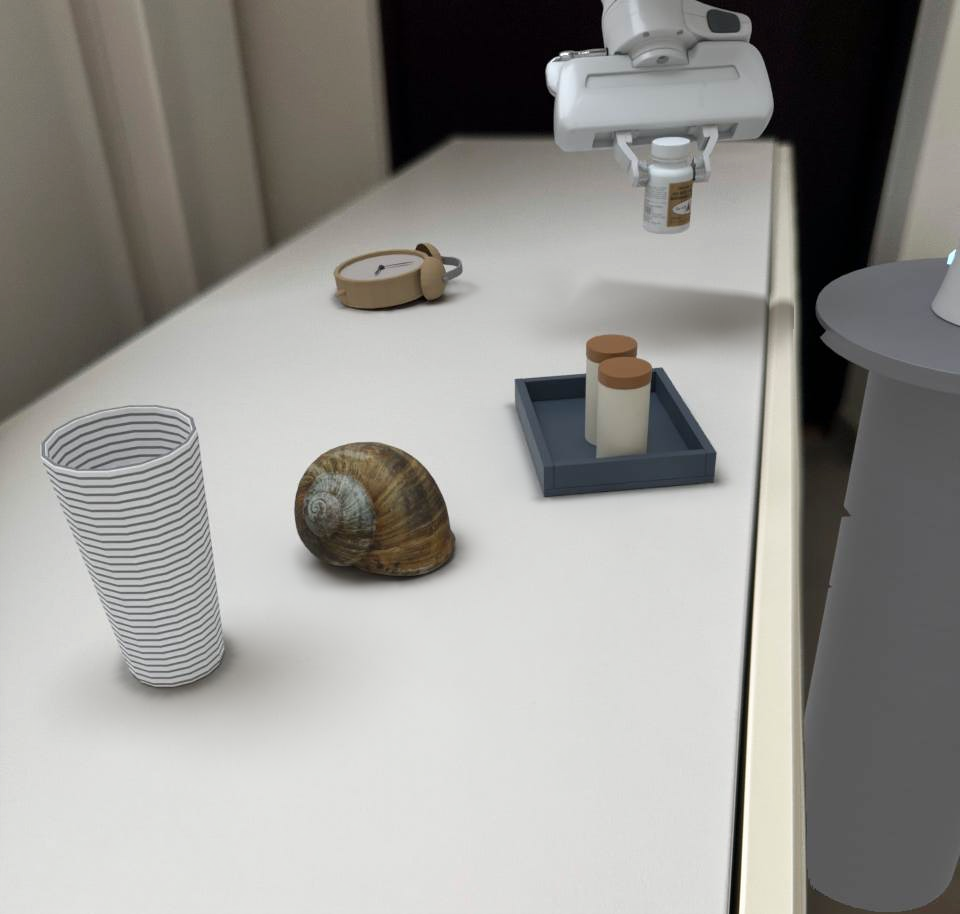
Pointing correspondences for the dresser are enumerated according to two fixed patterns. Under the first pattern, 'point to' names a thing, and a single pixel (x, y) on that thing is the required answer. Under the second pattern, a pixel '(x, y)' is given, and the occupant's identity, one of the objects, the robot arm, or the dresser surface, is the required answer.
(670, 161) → the pill bottle
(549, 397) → the tray
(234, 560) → the dresser surface
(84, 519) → the cup
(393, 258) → the alarm clock
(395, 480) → the seashell
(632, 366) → the matching bottles
